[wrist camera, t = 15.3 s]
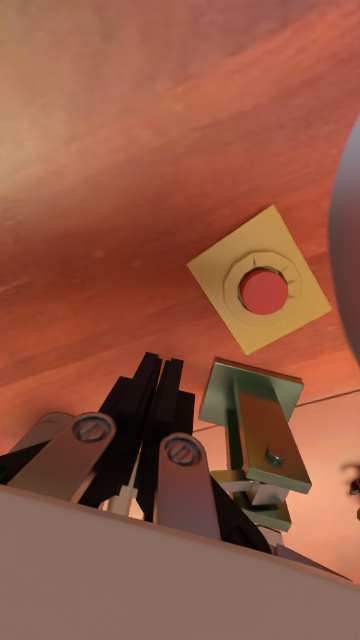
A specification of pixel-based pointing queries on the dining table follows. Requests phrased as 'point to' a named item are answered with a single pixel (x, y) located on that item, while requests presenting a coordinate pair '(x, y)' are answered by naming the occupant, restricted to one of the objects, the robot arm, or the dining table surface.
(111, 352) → the dining table surface
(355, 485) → the dragon fruit
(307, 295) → the button housing
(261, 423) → the bracket
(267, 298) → the button
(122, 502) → the lever
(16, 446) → the thermos bottle
